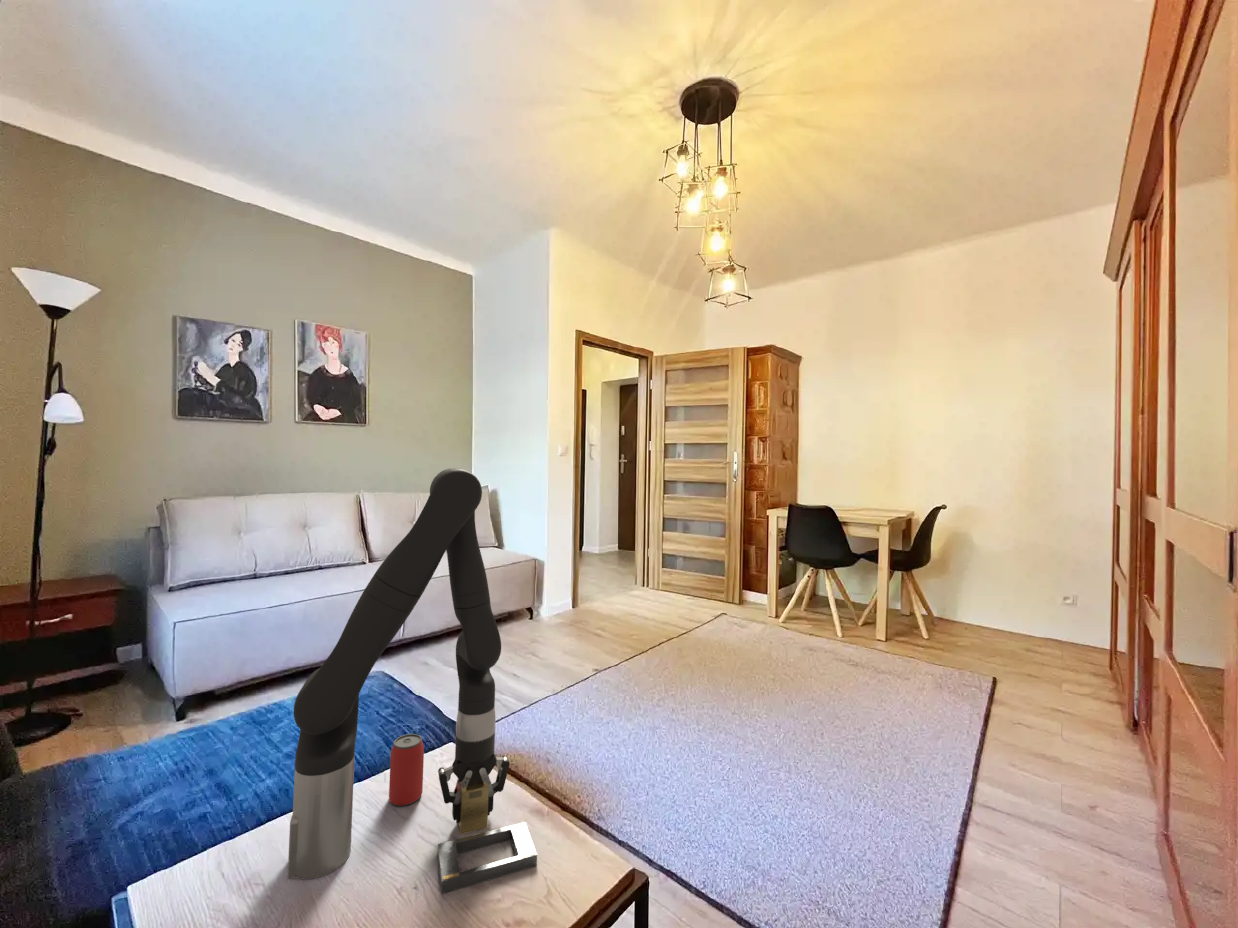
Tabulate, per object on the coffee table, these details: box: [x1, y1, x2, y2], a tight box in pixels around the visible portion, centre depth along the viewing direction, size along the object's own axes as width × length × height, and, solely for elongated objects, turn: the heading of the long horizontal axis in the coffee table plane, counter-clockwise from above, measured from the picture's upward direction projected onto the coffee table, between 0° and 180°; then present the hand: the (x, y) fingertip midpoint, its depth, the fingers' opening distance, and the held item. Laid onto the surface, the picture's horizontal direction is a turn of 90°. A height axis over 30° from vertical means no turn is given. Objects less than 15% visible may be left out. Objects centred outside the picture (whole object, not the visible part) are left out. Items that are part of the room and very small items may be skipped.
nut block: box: [458, 782, 489, 835], centre depth 100 cm, size 5×5×8 cm
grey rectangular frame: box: [436, 821, 538, 894], centre depth 90 cm, size 16×9×2 cm, turn 114°
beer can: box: [388, 733, 425, 807], centre depth 107 cm, size 7×7×12 cm
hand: (472, 816), depth 100 cm, fingers closed on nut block, 5 cm apart
